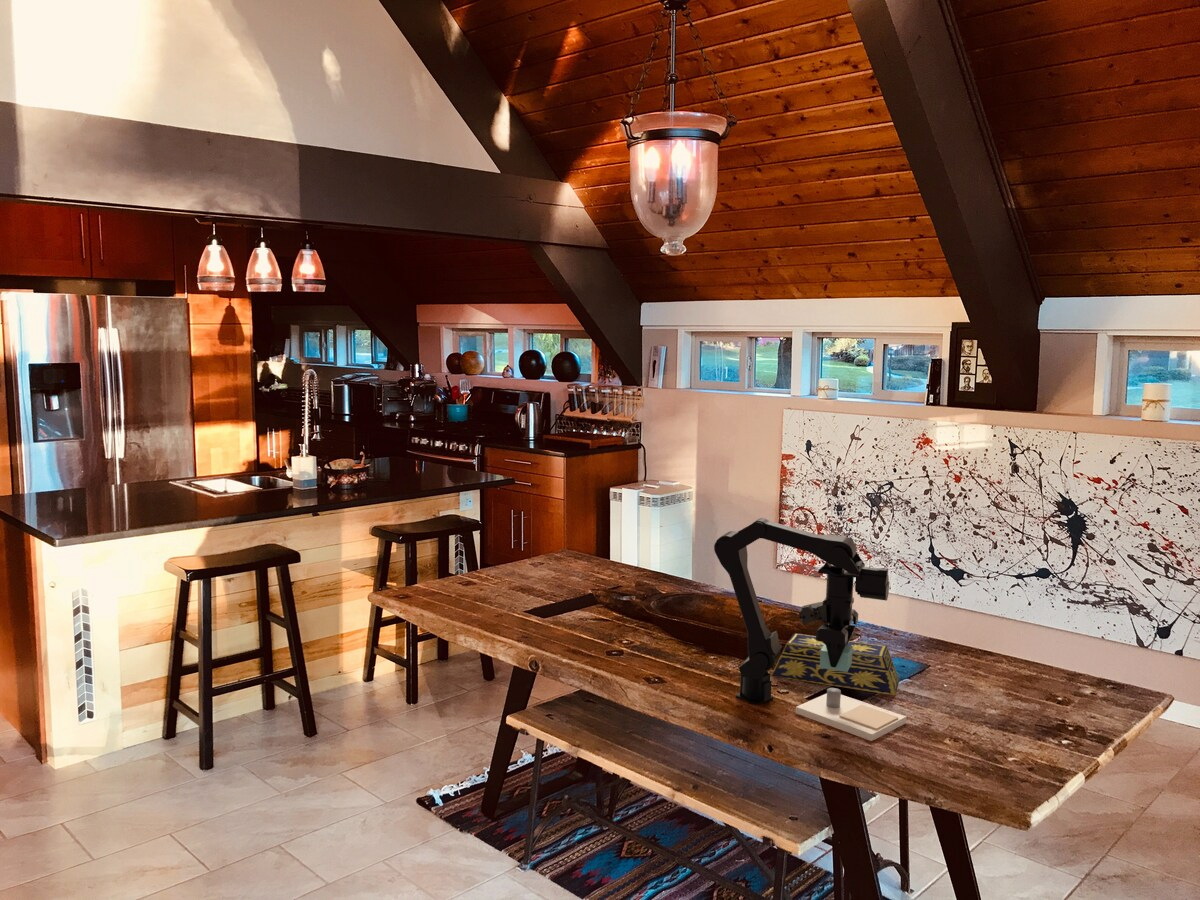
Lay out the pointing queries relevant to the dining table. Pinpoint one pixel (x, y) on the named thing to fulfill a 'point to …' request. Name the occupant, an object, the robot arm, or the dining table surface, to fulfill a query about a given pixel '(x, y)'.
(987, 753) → the dining table surface
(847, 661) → the mint green cube
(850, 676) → the decorative box
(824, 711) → the board
